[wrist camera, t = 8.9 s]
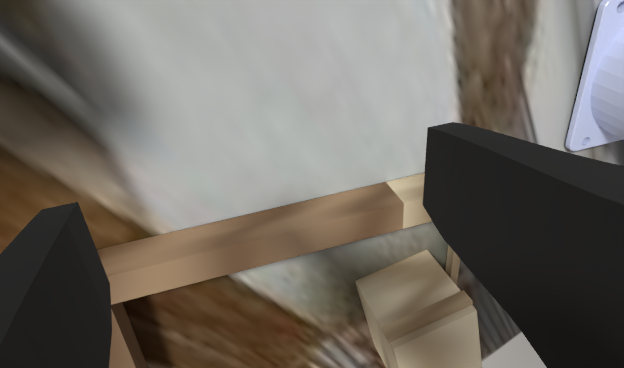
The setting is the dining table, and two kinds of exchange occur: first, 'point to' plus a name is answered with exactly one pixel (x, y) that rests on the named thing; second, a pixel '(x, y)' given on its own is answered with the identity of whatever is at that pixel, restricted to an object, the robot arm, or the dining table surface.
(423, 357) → the beige cube
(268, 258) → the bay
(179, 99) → the dining table surface
